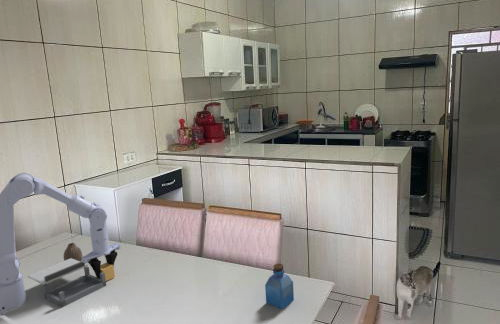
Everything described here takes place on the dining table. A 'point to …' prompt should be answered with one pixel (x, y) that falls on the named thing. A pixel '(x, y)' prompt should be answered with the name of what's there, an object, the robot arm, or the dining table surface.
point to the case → (75, 289)
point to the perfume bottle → (279, 288)
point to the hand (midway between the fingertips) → (104, 274)
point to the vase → (73, 252)
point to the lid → (57, 271)
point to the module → (107, 271)
